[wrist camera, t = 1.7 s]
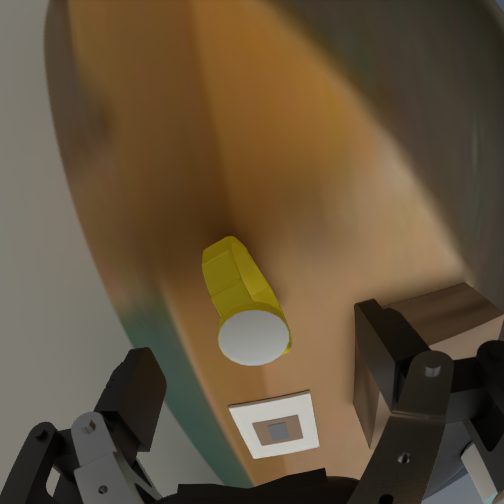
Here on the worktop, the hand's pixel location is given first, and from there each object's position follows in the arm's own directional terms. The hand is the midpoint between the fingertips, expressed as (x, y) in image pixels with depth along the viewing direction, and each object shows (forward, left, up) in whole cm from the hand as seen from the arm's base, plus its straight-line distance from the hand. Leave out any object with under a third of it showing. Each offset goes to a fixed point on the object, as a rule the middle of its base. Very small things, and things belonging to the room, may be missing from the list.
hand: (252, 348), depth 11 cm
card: (+14, -1, -6) cm, 15 cm away
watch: (0, 0, -6) cm, 6 cm away
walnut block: (+9, +10, -7) cm, 15 cm away
